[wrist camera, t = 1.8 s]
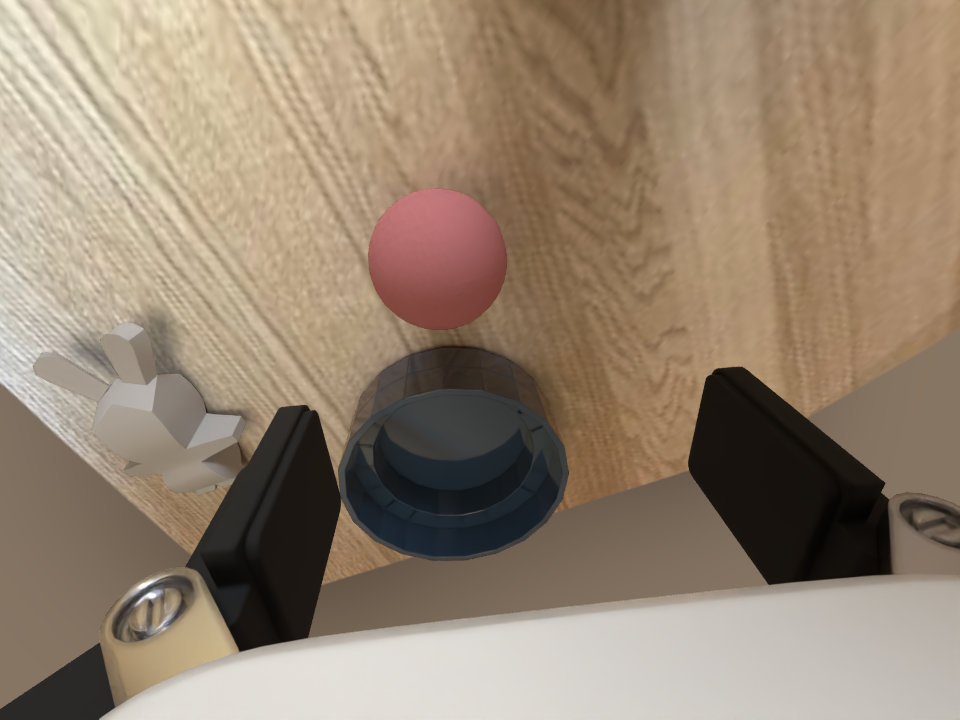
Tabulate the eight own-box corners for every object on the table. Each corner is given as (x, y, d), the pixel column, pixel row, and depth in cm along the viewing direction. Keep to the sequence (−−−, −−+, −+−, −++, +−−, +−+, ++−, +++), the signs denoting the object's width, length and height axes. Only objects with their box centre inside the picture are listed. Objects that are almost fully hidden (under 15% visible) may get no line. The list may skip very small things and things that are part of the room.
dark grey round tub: (315, 445, 39) (293, 502, 33) (438, 303, 34) (437, 342, 28) (464, 526, 45) (468, 586, 40) (589, 418, 40) (613, 468, 34)
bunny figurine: (160, 521, 37) (-14, 388, 28) (186, 472, 41) (41, 343, 32) (265, 488, 36) (119, 339, 27) (281, 441, 40) (159, 300, 31)
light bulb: (429, 294, 33) (423, 378, 23) (364, 212, 30) (323, 266, 20) (510, 238, 32) (544, 301, 21) (450, 145, 29) (456, 165, 18)
